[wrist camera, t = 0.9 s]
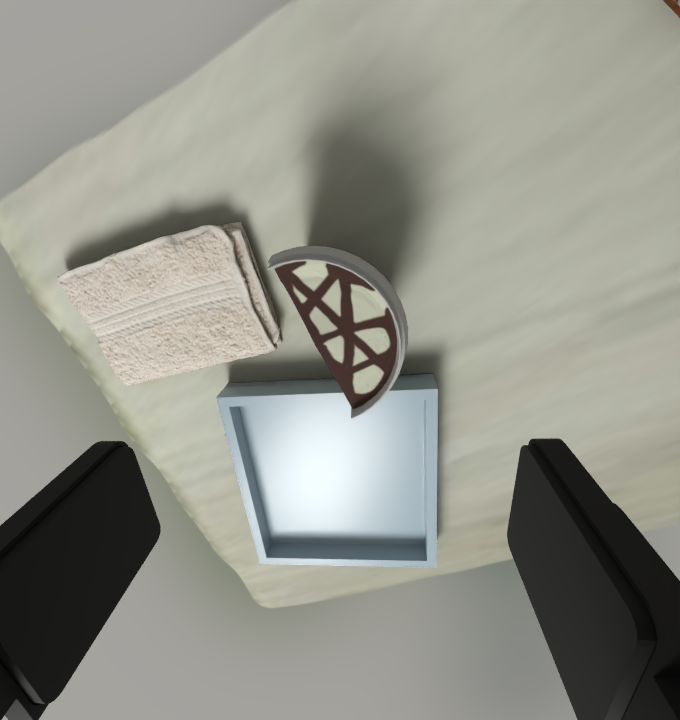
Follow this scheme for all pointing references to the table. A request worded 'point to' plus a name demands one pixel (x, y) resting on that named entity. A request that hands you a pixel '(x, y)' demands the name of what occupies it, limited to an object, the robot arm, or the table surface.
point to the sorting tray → (336, 471)
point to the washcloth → (176, 303)
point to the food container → (347, 318)
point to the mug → (674, 5)
